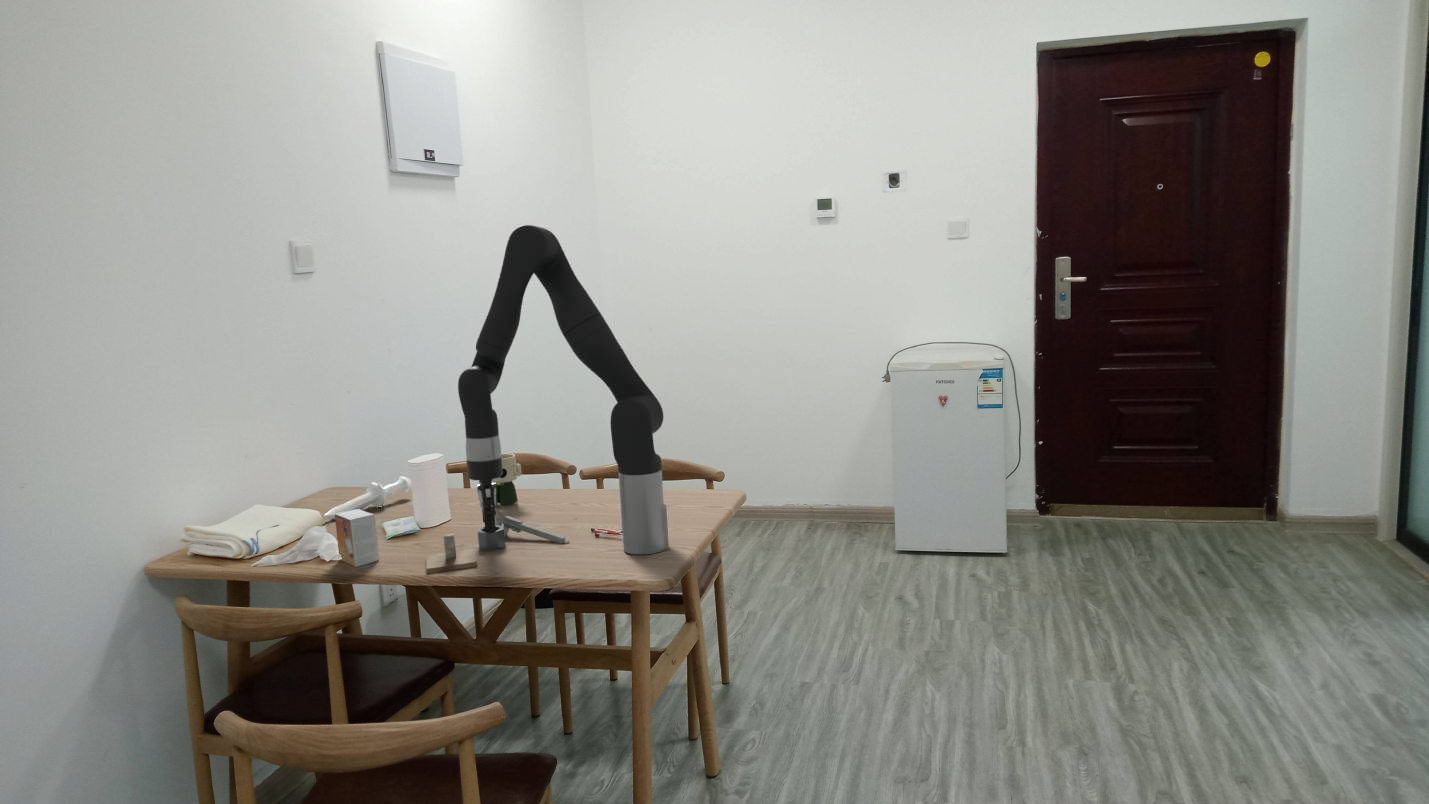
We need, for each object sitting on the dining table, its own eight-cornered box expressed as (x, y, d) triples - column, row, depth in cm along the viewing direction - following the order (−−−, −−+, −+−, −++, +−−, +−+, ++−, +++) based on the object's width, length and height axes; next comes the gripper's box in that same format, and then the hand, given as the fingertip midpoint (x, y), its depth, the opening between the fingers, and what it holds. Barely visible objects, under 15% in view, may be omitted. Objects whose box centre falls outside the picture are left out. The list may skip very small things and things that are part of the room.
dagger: (331, 520, 232) (421, 479, 254) (317, 502, 234) (408, 463, 255) (324, 537, 237) (413, 495, 259) (310, 520, 238) (400, 479, 260)
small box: (339, 560, 204) (333, 513, 203) (364, 553, 208) (358, 507, 207) (354, 567, 199) (349, 519, 197) (380, 560, 202) (375, 513, 201)
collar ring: (503, 541, 212) (502, 524, 211) (506, 548, 207) (504, 530, 206) (478, 544, 210) (477, 527, 210) (480, 551, 205) (478, 534, 204)
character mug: (480, 507, 243) (475, 458, 241) (495, 500, 249) (491, 453, 248) (516, 509, 239) (512, 460, 237) (531, 502, 246) (527, 454, 244)
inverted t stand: (474, 552, 205) (472, 526, 204) (477, 566, 195) (474, 538, 194) (426, 559, 202) (424, 532, 201) (427, 573, 192) (424, 545, 191)
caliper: (496, 536, 217) (493, 510, 216) (499, 535, 218) (496, 509, 217) (567, 545, 208) (565, 517, 207) (570, 543, 209) (567, 516, 208)
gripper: (503, 460, 200) (509, 534, 203) (499, 448, 213) (504, 517, 216) (467, 464, 198) (473, 538, 200) (465, 451, 211) (470, 520, 214)
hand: (489, 527), depth 208 cm, fingers open, 8 cm apart
